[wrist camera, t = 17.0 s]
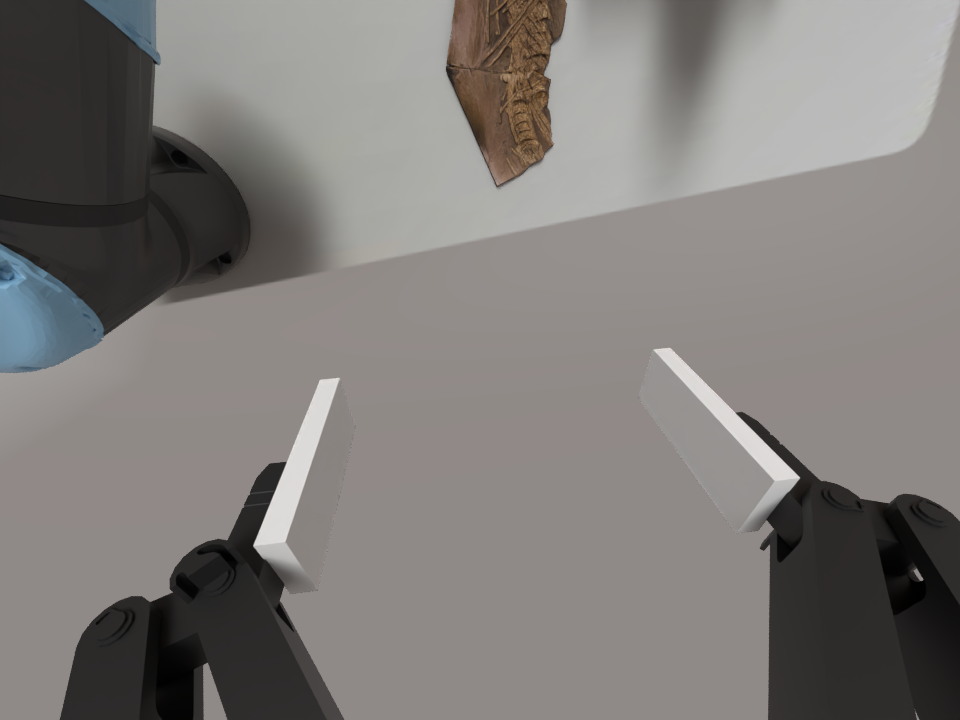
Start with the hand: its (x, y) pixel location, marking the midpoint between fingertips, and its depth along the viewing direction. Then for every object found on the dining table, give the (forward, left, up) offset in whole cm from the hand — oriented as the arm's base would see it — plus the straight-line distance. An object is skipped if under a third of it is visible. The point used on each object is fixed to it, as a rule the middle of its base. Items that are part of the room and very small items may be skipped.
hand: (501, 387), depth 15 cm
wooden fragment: (+5, +15, -32) cm, 36 cm away
